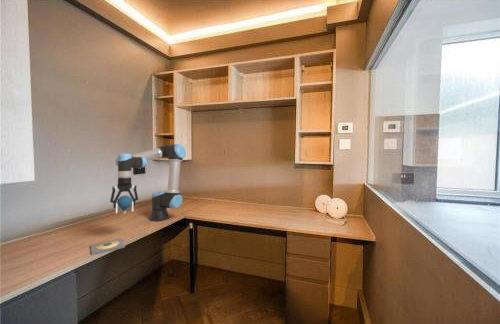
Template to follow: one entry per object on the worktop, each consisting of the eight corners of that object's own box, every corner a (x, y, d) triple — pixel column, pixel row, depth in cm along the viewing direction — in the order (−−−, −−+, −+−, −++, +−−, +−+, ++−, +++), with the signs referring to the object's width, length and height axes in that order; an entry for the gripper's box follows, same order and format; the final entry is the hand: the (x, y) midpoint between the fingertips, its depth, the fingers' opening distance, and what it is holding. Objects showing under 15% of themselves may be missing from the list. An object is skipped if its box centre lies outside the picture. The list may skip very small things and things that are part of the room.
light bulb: (133, 213, 140) (134, 195, 140) (119, 216, 133) (119, 197, 133) (129, 211, 145) (129, 194, 145) (115, 213, 139) (115, 195, 139)
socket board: (121, 239, 140) (121, 237, 140) (124, 247, 128) (124, 244, 128) (90, 245, 130) (90, 243, 130) (91, 255, 118) (91, 252, 118)
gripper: (141, 176, 148) (141, 208, 149) (104, 177, 135) (104, 213, 136) (143, 177, 143) (143, 210, 143) (105, 178, 129) (105, 215, 130)
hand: (124, 211), depth 139 cm, fingers closed on light bulb, 8 cm apart
